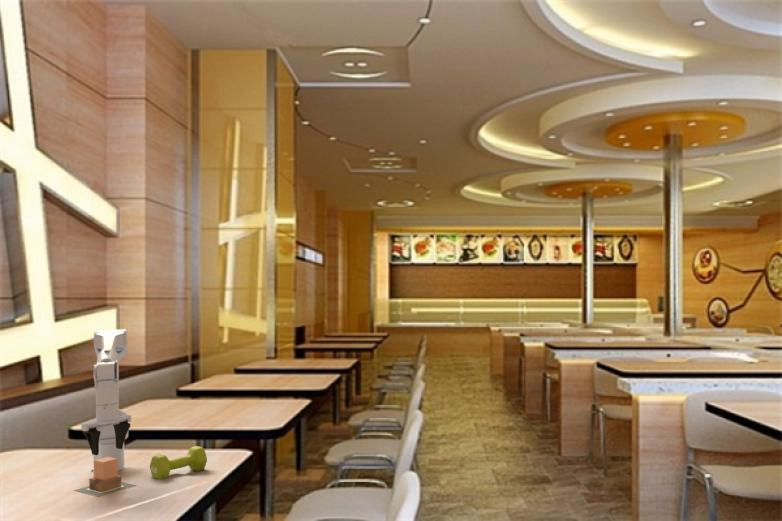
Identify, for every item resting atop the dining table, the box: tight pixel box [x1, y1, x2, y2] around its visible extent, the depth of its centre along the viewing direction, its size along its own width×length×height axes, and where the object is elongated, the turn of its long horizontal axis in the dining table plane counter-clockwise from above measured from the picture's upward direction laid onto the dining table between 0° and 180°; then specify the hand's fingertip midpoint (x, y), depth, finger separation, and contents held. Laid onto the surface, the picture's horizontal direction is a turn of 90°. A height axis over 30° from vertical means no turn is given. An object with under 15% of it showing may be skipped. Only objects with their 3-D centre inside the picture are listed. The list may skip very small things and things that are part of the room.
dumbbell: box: [149, 445, 208, 480], centre depth 207 cm, size 16×8×7 cm, turn 137°
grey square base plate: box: [73, 481, 138, 498], centre depth 192 cm, size 12×12×1 cm
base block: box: [88, 474, 122, 492], centre depth 193 cm, size 6×6×3 cm
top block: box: [93, 457, 119, 480], centre depth 192 cm, size 4×4×5 cm
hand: (107, 451), depth 195 cm, fingers open, 7 cm apart
